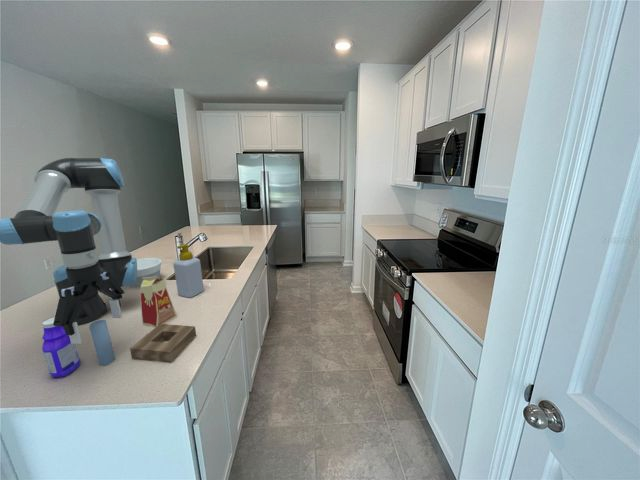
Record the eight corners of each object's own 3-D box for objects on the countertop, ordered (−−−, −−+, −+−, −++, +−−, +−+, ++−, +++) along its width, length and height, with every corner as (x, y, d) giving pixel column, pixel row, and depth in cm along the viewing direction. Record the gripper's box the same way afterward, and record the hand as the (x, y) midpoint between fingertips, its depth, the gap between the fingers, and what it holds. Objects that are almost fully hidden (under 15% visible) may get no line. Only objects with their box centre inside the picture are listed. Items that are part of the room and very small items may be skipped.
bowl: (171, 280, 147) (168, 261, 144) (133, 293, 131) (128, 273, 128) (153, 272, 157) (150, 255, 154) (115, 284, 141) (111, 265, 138)
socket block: (132, 358, 87) (129, 348, 86) (161, 333, 100) (159, 323, 99) (171, 362, 85) (169, 351, 84) (196, 335, 98) (195, 326, 97)
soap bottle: (176, 295, 129) (169, 246, 122) (191, 287, 137) (185, 241, 130) (190, 298, 126) (183, 248, 119) (205, 290, 134) (199, 243, 127)
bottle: (66, 362, 85) (52, 314, 80) (85, 361, 85) (72, 313, 81) (46, 379, 78) (28, 328, 73) (66, 378, 78) (50, 327, 74)
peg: (96, 365, 84) (85, 326, 80) (107, 356, 88) (97, 319, 84) (107, 366, 83) (97, 327, 80) (118, 357, 87) (109, 320, 83)
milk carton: (177, 316, 111) (170, 272, 106) (157, 328, 103) (148, 281, 97) (160, 312, 114) (153, 269, 109) (140, 324, 106) (131, 277, 100)
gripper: (45, 282, 64) (67, 357, 69) (129, 252, 88) (140, 309, 93) (19, 281, 65) (42, 355, 70) (109, 251, 89) (121, 308, 94)
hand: (98, 329), depth 82 cm, fingers open, 13 cm apart
